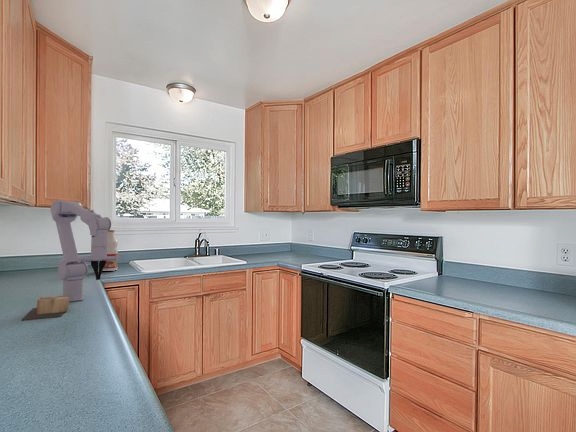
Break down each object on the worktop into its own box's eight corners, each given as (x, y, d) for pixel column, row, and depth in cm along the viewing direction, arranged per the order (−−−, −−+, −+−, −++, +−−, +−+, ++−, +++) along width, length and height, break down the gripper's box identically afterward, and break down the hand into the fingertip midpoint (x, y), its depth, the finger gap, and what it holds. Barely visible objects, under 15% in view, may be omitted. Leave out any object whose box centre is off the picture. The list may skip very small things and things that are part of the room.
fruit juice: (120, 270, 215) (121, 230, 216) (108, 272, 206) (109, 230, 207) (110, 269, 219) (111, 229, 219) (97, 271, 210) (99, 229, 210)
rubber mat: (32, 308, 121) (32, 308, 121) (67, 305, 126) (67, 305, 126) (21, 320, 107) (21, 319, 107) (60, 316, 112) (60, 315, 112)
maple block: (68, 308, 122) (39, 310, 118) (69, 295, 122) (40, 297, 118) (66, 311, 118) (36, 314, 114) (67, 298, 118) (37, 300, 114)
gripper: (77, 247, 122) (75, 282, 122) (119, 246, 129) (118, 279, 129) (79, 246, 129) (77, 279, 128) (119, 245, 135) (118, 277, 135)
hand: (98, 279), depth 129 cm, fingers closed
